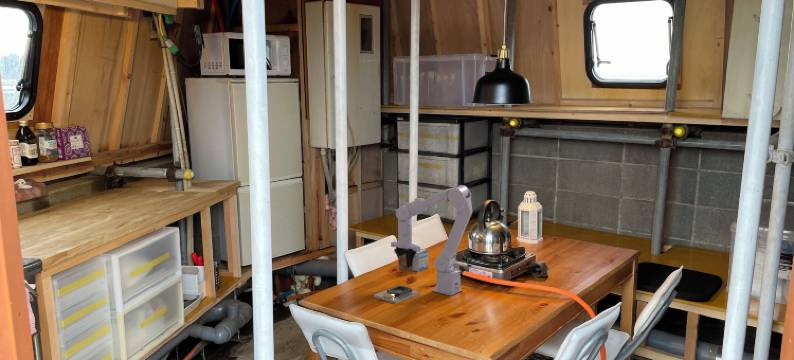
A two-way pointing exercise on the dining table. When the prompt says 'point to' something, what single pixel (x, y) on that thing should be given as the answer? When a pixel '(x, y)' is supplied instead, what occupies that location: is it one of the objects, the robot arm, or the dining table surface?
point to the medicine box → (420, 260)
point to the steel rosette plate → (396, 294)
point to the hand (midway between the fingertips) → (405, 265)
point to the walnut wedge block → (404, 263)
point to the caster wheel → (538, 269)
